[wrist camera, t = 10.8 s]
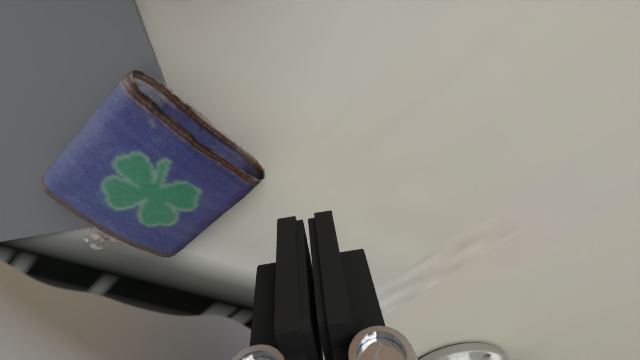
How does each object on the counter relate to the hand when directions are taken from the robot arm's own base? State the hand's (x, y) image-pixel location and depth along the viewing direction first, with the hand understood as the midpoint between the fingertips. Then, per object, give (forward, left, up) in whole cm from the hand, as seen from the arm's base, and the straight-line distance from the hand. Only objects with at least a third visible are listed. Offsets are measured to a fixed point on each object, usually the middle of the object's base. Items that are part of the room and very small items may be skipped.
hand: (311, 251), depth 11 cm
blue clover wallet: (+5, 0, -11) cm, 12 cm away
